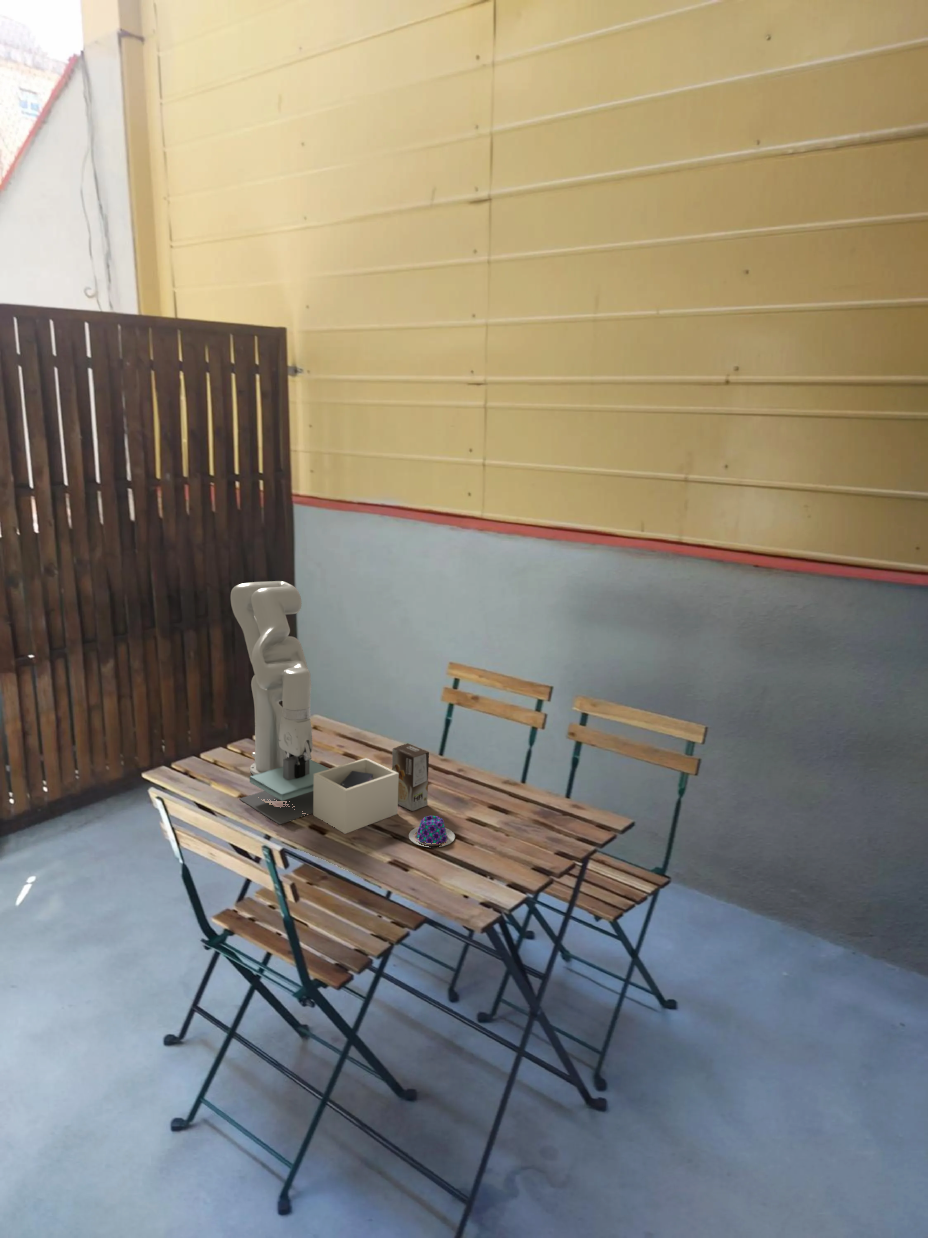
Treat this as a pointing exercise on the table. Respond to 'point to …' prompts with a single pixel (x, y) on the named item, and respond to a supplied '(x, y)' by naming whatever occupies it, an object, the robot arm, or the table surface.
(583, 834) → the table surface
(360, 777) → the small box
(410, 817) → the table surface
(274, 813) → the mat
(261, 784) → the lid
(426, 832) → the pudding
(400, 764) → the coffee box
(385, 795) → the box
